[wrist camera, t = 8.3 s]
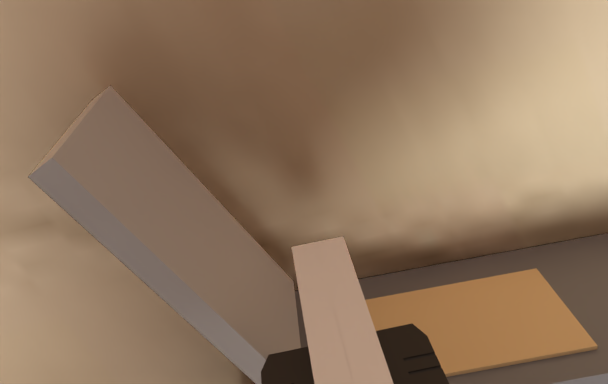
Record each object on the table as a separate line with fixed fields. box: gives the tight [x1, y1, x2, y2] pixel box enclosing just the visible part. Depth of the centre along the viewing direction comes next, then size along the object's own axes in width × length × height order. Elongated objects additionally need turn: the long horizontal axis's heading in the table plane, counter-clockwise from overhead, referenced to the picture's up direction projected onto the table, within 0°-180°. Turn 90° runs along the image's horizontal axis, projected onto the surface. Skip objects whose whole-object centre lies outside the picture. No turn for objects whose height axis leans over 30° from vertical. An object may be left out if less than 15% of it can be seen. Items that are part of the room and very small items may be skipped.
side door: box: [28, 85, 301, 384], centre depth 18 cm, size 10×1×6 cm, turn 36°
